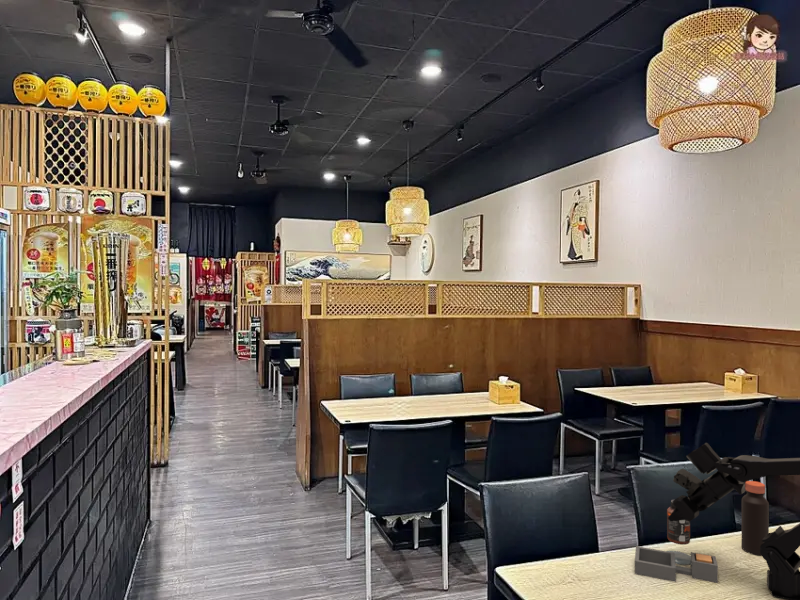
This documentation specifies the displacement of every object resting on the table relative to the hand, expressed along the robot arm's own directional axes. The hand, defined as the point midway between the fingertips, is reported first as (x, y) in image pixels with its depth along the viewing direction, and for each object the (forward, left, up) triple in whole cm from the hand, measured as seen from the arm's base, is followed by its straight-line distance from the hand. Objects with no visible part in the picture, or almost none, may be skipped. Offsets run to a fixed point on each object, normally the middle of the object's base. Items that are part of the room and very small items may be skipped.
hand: (673, 516), depth 160 cm
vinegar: (-22, -15, -12) cm, 29 cm away
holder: (0, +10, -12) cm, 16 cm away
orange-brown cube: (-7, +8, -11) cm, 15 cm away
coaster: (-1, 0, -12) cm, 12 cm away
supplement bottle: (-1, +1, -7) cm, 7 cm away
